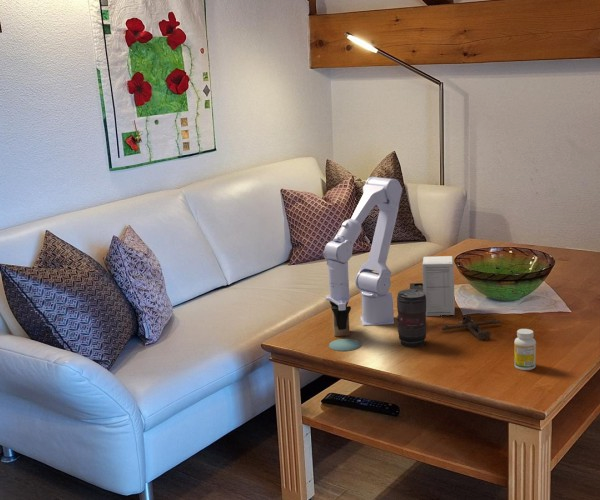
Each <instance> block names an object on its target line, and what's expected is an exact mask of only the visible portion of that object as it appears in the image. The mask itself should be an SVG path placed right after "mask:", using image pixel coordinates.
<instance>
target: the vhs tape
mask: <svg viewBox="0 0 600 500" xmlns="http://www.w3.org/2000/svg"><path fill="white" fill-rule="evenodd" d="M409 289H417V290H421V291H423V282H417V283H416V282H415V283H414V282H413V283H409Z"/></svg>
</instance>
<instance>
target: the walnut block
mask: <svg viewBox="0 0 600 500" xmlns="http://www.w3.org/2000/svg"><path fill="white" fill-rule="evenodd" d="M331 311H332V310H331ZM331 313H332V328H333V329H332V330H333V334H334V337H344V336H350V335H351V333H350V315H349V314H350V313H349V314H348V318H347V325H346V329H343V330H339V329H338V326H337V322H336V317H335V315H334V313H333V311H332V312H331Z"/></svg>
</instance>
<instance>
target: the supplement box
mask: <svg viewBox="0 0 600 500" xmlns="http://www.w3.org/2000/svg"><path fill="white" fill-rule="evenodd" d="M421 268H422V283H423V291H424V292H425V294H426V317H443V316H442V315H454V316H455V307H456V306H455V278H454V277H455V275H454V261H453V255H443V256H439V255H438V256H423V259H422V267H421ZM440 315H441V316H440Z"/></svg>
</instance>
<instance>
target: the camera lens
mask: <svg viewBox="0 0 600 500" xmlns="http://www.w3.org/2000/svg"><path fill="white" fill-rule="evenodd" d="M396 308H397V309H396V310H397V316H396V323H397V333H398V338H399V340H400V345H402V346H403V347H407V348H419V347H423V346H424V345H425V343H426V338H427V316H426V294H425V292H424V291H421V290H417V289H410V288H408V289H407V288H406V289H401V290H400V291H399V290H398V292H397V297H396Z"/></svg>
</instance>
